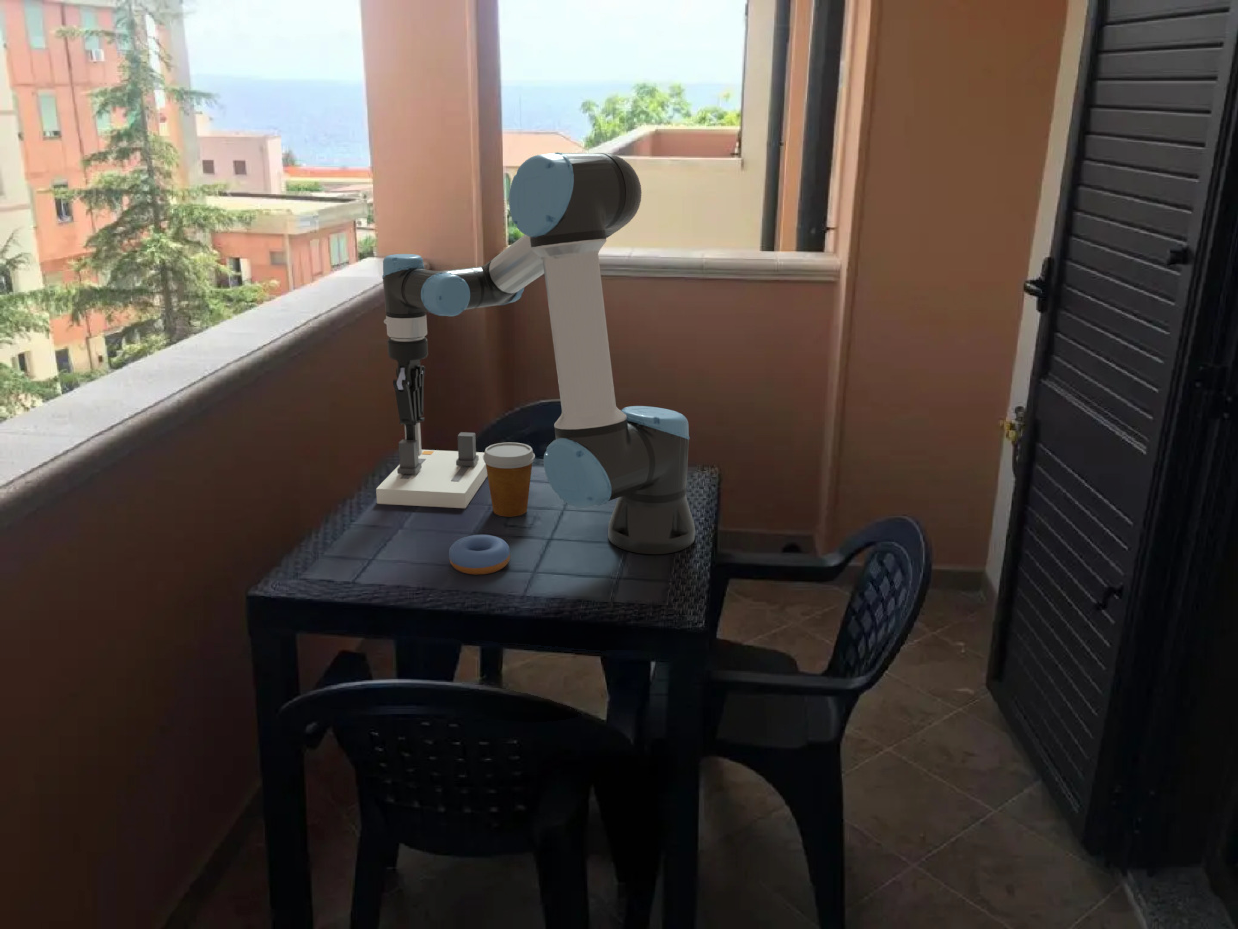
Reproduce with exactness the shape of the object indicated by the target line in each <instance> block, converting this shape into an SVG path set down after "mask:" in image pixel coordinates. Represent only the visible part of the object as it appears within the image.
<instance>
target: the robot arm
mask: <svg viewBox="0 0 1238 929" xmlns="http://www.w3.org/2000/svg"><path fill="white" fill-rule="evenodd" d="M639 178H640V177H639V175H638V174H637V172H636V170H635V169H634V167H633V166H632V165H631V164H630V163H629V162H627V161H626V160H625V159H624V158H622V157H620V156H618V155H615V154H612V153H607V152H596V153H595V152H594V153H591V152H588V153H587V152H560V151H559V152H558V151H557V152H551V153H544V154H537V155H533V156H531V157H529V158H528V159H526V160H525V161H523V163H522V164H520V166H519V167H518V168H517V170H516V174H515V175H514V176H513V178H512V181H511V184H510V188H509V194H508V195H509V196H508V206H509V207H508V208H509V212H510V217H511V220H512V222H513V224H515V225H516V228H517V229H518V230H519V232H521V233H522V234H524V235H522V236H521V237H520V238H519V239H517V240H516V241H514V242H513V243H512V244H511V245H509V246H508V247H507V248H505V249H504V250H502V251H501V252H500V253H499V254H497V255H496V256H495V257H494V258H492V259H491V260H489V261H488V262H487V263H486V264H483V265H480V266H473V267H465V268H457V269H456V268H455V269H446V270H430V269H425V268H426V267H425V264H424V259H423V257H422V256H421V255H419V254H412V253H396V254H394V253H393V254H388V255H387V256H385V257H384V258H383V260H382V272H383V273H382V277H381V278H382V285H383V296H384V297H383V298H384V299H383V300H384V306H385V307H384V309H385V319H384V320H383V323H384V324H385V325H386V335H387V336H388V339H387V341H386V342H387V356H388V357H389V358H390V359H391V360H393V361H396V362H397V368H396V370H395V372H396V373H395V374H396V378H395V379H393V381H392V386H393V388H394V392H395V398H396V405H397V410H398V419H399V425H404V440H417V443H418V456H420V455H421V454H422V450H423V449H422V433H421V431H422V430H421V422H425V417H422V416H424V399H425V398H424V395H425V394H424V392H425V391H424V389H425V388H424V386H425V371H426V366H425V365H421V360H424V359H426V358H427V357H428V356H429V347H428V346H429V344H428V339H427V337H426V336H427V335H428V324H427V323H428V321H427V313H430V314H433V315H435V316H438V317H439V316H440V317H445V316H446V317H455V316H459V315H460V314H461V313H462V312H464V311H466V310H473V309H478V308H486V307H487V308H488V307H494V306H505V305H508V304H511V303H515V302H516V301H518V300H520V298H522V296H523V292H524V291H525V287H526V286H528V285H530V284H531V283H532V282H534V281H535V280H537V279H538V278H540V277H541V276H543V275H544V279H545V289H546V295H547V296H546V297H547V304H548V311H549V319H550V327H551V336H552V342H553V343H552V344H553V351H554V360H555V365H556V367H555V368H556V373H557V381H558V390H559V397H560V398H559V399H560V406H561V414H560V416H559V417H558V419H557V420H556V421H555V422H554V425H553V426H554V434H555V439H554V440H553V441H552V442H550V444H548V445H547V447H546V451H545V452H544V454H543V469H544V473H545V476H546V478H547V481H548V484H549V485H550V487H551V489H552V490H553V491H554V492H555V494H557V495H558V497H559V498H560V500H562V501H563V502H564V503H566V504H568V505H570V506H571V507H574V508H579V509H586V508H587V509H588V508H590V507H594V506H602V505H604V504H607V503H608V502H610V501H612V500H616V502H615V504H614V508H613V511H612V513H611V515H610V519H609V522H608V527H607V528H608V531H607V532H608V534H607V535H608V536H607V537H608V540H609V542H610V543H611V544H613V546H615V547H617V548H619V549H622V550H625V551H626V552H627V551H628V552H630V553H636V554H641V555H643V554H645V555H666V554H671V553H676V552H680V551H683V550H684V549H687V548H689V547H690V546H692V544H693V543H694V541H695V539H696V538H695V535H696V534H695V533H696V526H695V523H694V520H693V516H692V513H691V512H692V511H691V509H690V505H689V503H688V498H687V484H688V483H687V481H688V466H689V465H688V460H689V446H690V445H689V443H690V442H689V440H690V436H689V434H690V433H689V421H688V418H687V417H686V416H685V415H684V414H682V413H680V412H678V411H676V410H673V409H668V408H662V407H656V406H647V405H646V406H645V405H633V406H632V405H631V406H626V407H623V408H622V409H619V408H618V407H617V405H616V396H615V395H616V394H615V387H614V386H615V385H614V378H613V369H612V361H611V355H610V354H611V353H610V344H609V336H608V328H607V327H608V326H607V319H606V318H607V317H606V310H605V302H604V292H603V291H604V290H603V285H602V284H603V283H602V275H601V268H600V258H599V253H600V251H601V249H602V248H603V246H605V243H607V239H608V238H609V237H611V236H612V235H614V234H615V233H618V231H620V230H621V229H622V228H624V227H625V226H626V225H628V224H629V223H630V222H631V221H632V220H633V219H634V217H635V216H636V215H637V213H638V211H639V209H640V206H641V202H642V186H641V181H640V179H639Z"/></svg>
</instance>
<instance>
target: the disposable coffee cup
mask: <svg viewBox="0 0 1238 929" xmlns="http://www.w3.org/2000/svg"><path fill="white" fill-rule="evenodd" d="M483 453H484V455H483V460H484V462H485V463H486V470H487V475H488V476H487V480H488V486H489V488H488V489H489V494H490V500H491V505H492V511H493V514H495V515H497V516H500V517H508V518H509V517H511V518H512V517H519V516H522V515H524V514H525V513H527V511H528V505H529V495H530V494H529V493H530V488H531V479H532V478H531V477H532V471H533V470H532V468H533V462H534V460H535V458H536V455H535V453H534V451H533V448H532V447H531V446H530V445H529V444H526V443H520V442H509V441H508V442H500V443H494V444H490V445H489V446H487V447H485V450H484V452H483Z"/></svg>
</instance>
